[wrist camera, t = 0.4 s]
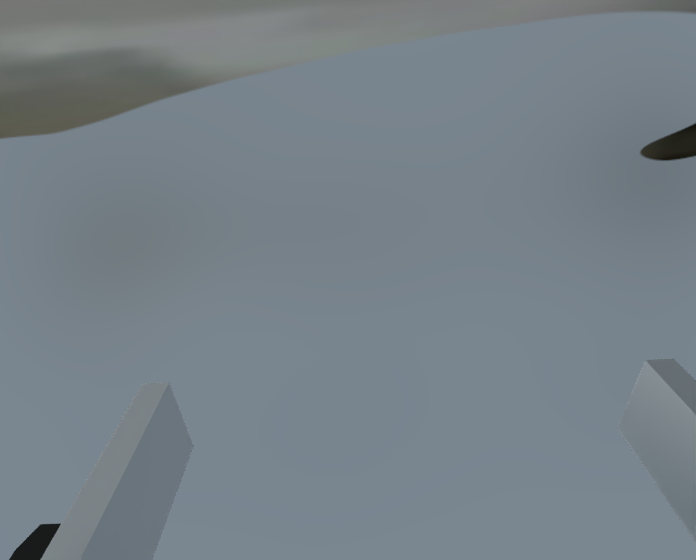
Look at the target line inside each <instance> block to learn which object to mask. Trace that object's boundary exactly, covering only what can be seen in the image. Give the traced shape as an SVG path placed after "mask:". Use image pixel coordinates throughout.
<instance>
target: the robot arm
mask: <svg viewBox="0 0 696 560" xmlns="http://www.w3.org/2000/svg"><path fill="white" fill-rule="evenodd" d="M617 429H618V430H619V432H620V433H621V435H622V436H623V438H624V439H625V440H626V442H627V443H628V445H629V446H630V448H631V449H632V451H633V452H634V453H635V455H636V456H637V458H638V459H639V461H640V462H641V464H642V465H643V466H644V468H645V469H646V471H647V472H648V474H649V475H650V477H651V478H652V480H653V481H654V482H655V484H656V485H657V487H658V488H659V490H660V491H661V493H662V494H663V495H664V497H665V498H666V500H667V501H668V503H669V504H670V505H671V507H672V508H673V510H674V511H675V513H676V514H677V516H678V517H679V519H680V520H681V522H682V523H683V524H684V526H685V527H686V529H687V530H688V532H689V533H690V534H691V536H692V537H693V539H694V540H695V542H696V380H695V379H694V378H693V377H692V376H691V375H690V374H688V373H687V371H685V369H684V368H683V367H681V365H680V364H678V363H677V362H676V361H675V360H674V359H660V360H645V362H644V364H643V367H642V369H641V372H640V374H639V377H638V379H637V381H636V384H635V386H634V388H633V391H632V393H631V396H630V398H629V401H628V403H627V405H626V408H625V410H624V412H623V415H622V417H621V420H620V422H619V424H618V427H617ZM192 449H193V444H192V441H191V438H190V436H189V433H188V431H187V428H186V425H185V423H184V420H183V418H182V415H181V412H180V410H179V407H178V405H177V402H176V399H175V397H174V394H173V392H172V389H171V386H170V384H169V382H168V383H146V384H142V385H141V387H140V388H139V390H138V392H137V393H136V395H135V397H134V399H133V400H132V402H131V404H130V405H129V407H128V409H127V411H126V412H125V414H124V416H123V417H122V419H121V421H120V423H119V424H118V426H117V428H116V430H115V431H114V433H113V435H112V437H111V438H110V440H109V442H108V443H107V445H106V447H105V449H104V450H103V452H102V454H101V456H100V457H99V459H98V461H97V463H96V464H95V466H94V468H93V469H92V471H91V473H90V475H89V476H88V478H87V480H86V482H85V483H84V485H83V487H82V489H81V491H80V492H79V494H78V495H77V497H76V499H75V501H74V502H73V504H72V506H71V508H70V509H69V511H68V513H67V515H66V516H65V518H64V520H63V522H62V523H61V524H42V525H40V526H39V527H38V528H37V529H36V530H35V531H34V532H33V533H32V534H31V535H30V536H29V537H28V538H27V539H26V540H25V541H24V542H23V543H22V544H21V545H20V546H19V547H18V548H17V549H16V550H15V551H14V553H13V555H12V556H11V558H10V559H9V560H152V559H153V556H154V553H155V551H156V548H157V545H158V542H159V539H160V537H161V534H162V531H163V529H164V526H165V523H166V521H167V518H168V515H169V512H170V509H171V507H172V504H173V501H174V498H175V496H176V493H177V490H178V488H179V485H180V482H181V479H182V477H183V474H184V471H185V468H186V465H187V463H188V460H189V457H190V455H191V452H192Z"/></svg>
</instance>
